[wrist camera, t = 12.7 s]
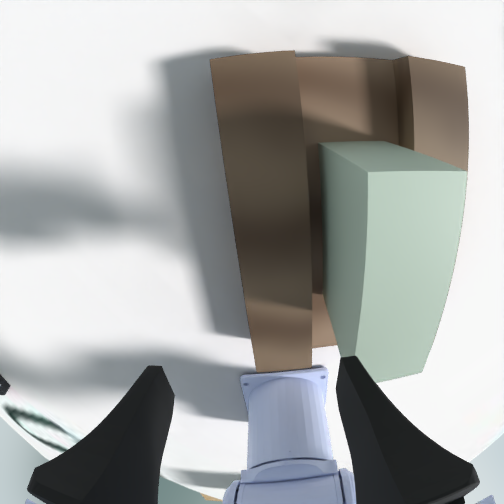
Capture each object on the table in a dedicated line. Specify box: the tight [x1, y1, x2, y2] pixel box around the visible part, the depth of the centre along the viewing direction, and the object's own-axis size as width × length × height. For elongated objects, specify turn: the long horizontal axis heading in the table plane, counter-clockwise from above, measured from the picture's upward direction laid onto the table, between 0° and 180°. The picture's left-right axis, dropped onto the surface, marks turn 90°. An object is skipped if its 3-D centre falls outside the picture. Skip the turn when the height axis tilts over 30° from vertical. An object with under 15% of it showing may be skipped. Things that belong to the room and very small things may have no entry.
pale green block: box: [318, 141, 467, 383], centre depth 14 cm, size 10×4×8 cm, turn 7°
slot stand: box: [210, 50, 469, 372], centre depth 17 cm, size 20×14×4 cm
